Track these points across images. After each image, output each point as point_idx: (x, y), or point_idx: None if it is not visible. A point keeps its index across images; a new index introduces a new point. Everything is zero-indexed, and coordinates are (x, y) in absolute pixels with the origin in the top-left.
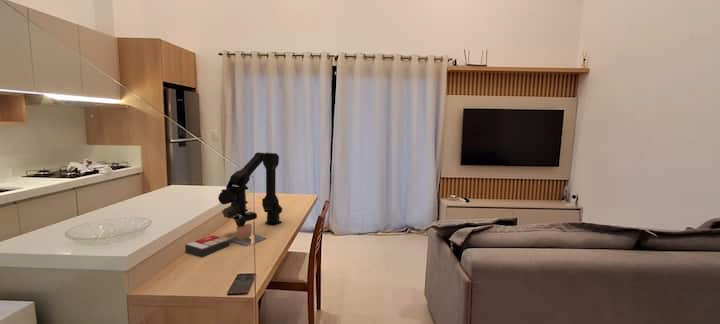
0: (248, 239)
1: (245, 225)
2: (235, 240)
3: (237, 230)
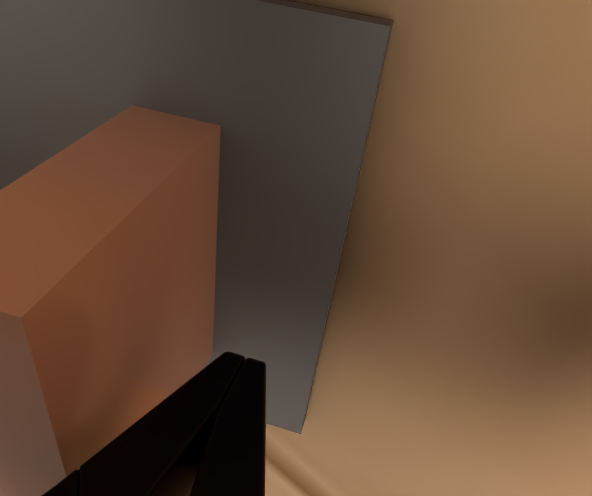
0: None
1: (9, 478)
2: (184, 45)
3: (57, 236)
